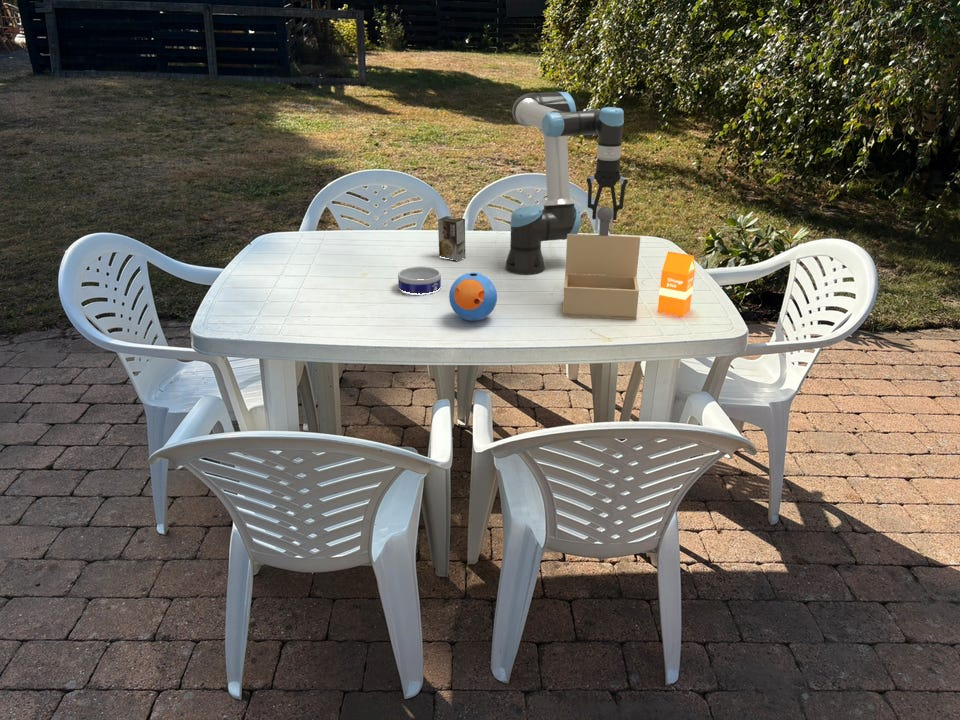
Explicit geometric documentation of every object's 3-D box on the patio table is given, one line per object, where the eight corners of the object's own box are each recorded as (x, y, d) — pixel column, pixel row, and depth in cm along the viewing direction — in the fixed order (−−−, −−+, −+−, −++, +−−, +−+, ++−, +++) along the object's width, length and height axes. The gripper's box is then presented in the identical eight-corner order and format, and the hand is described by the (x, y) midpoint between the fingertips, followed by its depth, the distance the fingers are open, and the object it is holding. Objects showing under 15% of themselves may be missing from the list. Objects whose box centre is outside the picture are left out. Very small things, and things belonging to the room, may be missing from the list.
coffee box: (466, 258, 311) (465, 218, 304) (457, 262, 306) (456, 222, 299) (447, 254, 315) (446, 215, 308) (438, 258, 310) (437, 219, 304)
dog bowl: (417, 278, 289) (416, 263, 286) (449, 287, 281) (449, 271, 278) (389, 290, 278) (389, 274, 275) (423, 299, 270) (422, 283, 267)
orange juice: (682, 316, 255) (689, 258, 246) (657, 311, 259) (663, 254, 250) (690, 309, 261) (697, 252, 252) (665, 304, 265) (671, 248, 256)
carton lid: (568, 207, 251) (568, 203, 255) (565, 274, 263) (565, 268, 267) (643, 210, 248) (642, 205, 253) (636, 277, 260) (636, 271, 264)
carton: (562, 316, 255) (563, 287, 251) (563, 300, 268) (565, 273, 263) (636, 319, 252) (638, 290, 248) (634, 304, 265) (636, 276, 261)
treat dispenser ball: (500, 312, 258) (501, 268, 252) (491, 329, 245) (491, 284, 238) (456, 308, 262) (455, 265, 255) (444, 325, 248) (443, 280, 241)
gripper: (581, 159, 246) (577, 231, 256) (636, 161, 244) (630, 233, 254) (581, 155, 253) (577, 224, 263) (635, 156, 251) (629, 226, 261)
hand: (603, 228), depth 259 cm, fingers open, 4 cm apart
